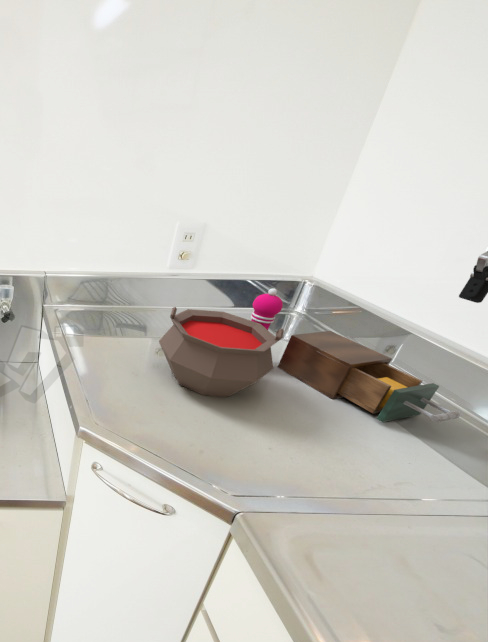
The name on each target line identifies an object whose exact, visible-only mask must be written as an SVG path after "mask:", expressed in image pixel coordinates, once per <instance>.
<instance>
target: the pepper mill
mask: <svg viewBox="0 0 488 642" xmlns="http://www.w3.org/2000/svg"><path fill="white" fill-rule="evenodd" d="M277 294H278V290H277V289H276V288H274V287H273V288H269V290H268V291H267V293H262V294H259V295H258V296H256V298H255V299H254V300H253V302H252V308H253V311H251V315H250V321H253V322H256V323H259V324H261V325H262V326H264V327H265V328H266V329H267V330H268V331H269V328H270V326H271V325H272V324H273V323H274V322H275V319H276V315H278V314H279V313H281V312H282V309H283V306H284V303H283V300H282V299H281V297H280V296H278V295H277Z"/></svg>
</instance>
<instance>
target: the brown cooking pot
mask: <svg viewBox="0 0 488 642" xmlns="http://www.w3.org/2000/svg"><path fill="white" fill-rule="evenodd" d="M177 310H178V308H177V307H176V306H174V307H172V309H171V312H170V315H169V317H170V320H171V322H172V325H171V327H170V328H169V329H168V330H167V331H166V332H165V333H164V335H163V336H162V337H160V339H159V340H158V343H159V346H160V348H161V350H162V352H163V354H164V358H165V359H166V361H167V363H168V366H169V368H170V371H171V372H172V374H173V376H174V378H175V379H176V381H177V383H178V384H179V386H181V387H184V388H186V389H189V391H190V390H191V391H192V392H194V393H197V394H200V396H201V395H202V396H209V397H221V398H228V397H230V396H232V395H234V394H236V393H238V392H240V391H242V390H244V389H246V388H247V387H249V386H251V385H254V384H256V383H257V382H258V381H260V380H261V379H262V378H263V377H265V376H266V375H267V374H268V373H269V372H271V371H272V370H273V369H274V362H273V353H272V346H275V344H277V343H278V342H279V341H281V340H282V339H283V338H284V333H285V330H284V328H279V329H278V330H277V331H276V333H275V335H274V333H272V332H270V330H269V329H268V330H267V329H266V328H265V327H264V326H262V325H261V324H259V323H256V322H253V321H251V319H247V318H244V317H241V316H238V315H236V314H233V313H228V312H225V311H219V310H218V311H217V310H205V309H191V308H187V309H185V310H183V311H180V312H178V313H177Z"/></svg>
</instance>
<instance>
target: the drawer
mask: <svg viewBox="0 0 488 642" xmlns="http://www.w3.org/2000/svg"><path fill="white" fill-rule="evenodd" d="M384 377H388V378H390V379H392V380H394V381H396V382H398V383H400V384H402V385H404V386H406V387H407V388H401V389H396V390H394V391H393V393H392V394H391V396H390V398H389V399H388V401H387V402H386V404H385V406H384V407H383V408H382V407H380V404H381V403H382V401H383V399H384V398H385V396H386V394H387V393H388V391H389V390H390V388H391V385H389V384H387V383H385V382H383V381H381V380H379V379H378V378H384ZM422 383H423V380H422V379H420V378H418V377H416V376H413V375H411V374H409V373H407V372H405V371H403V370H401V369H398V368H396V367H394V366H391V365H390V364H389V365H388V364H385V363H378V364H371V365H364V366H357V367H352V368H351V370H350V372H349V374H348V375H347V377H346V379H345V381H344V383H343V385H342V386H341V388H340V390H339V392H338V394H340V395H341V396H343V398H345V399H347V400H348V401H350V402H351V403H353V404H356V405H357V406H359V407H361V408H362V409H364V410H366V411H367V412H369V413H371V414H377V413H379V414H378V415H377V417H376V420H377V421H379V422H381V423H385V422H389V421H394V420H400V419H406V418H411V417H415V416H420V415H421V414H422V415H425V416H426V417H428V418H430V421H431V422H433V423H441V422H445V421H451V420H454V419H459V418H460V417H461V413H459V411H456V410H452V411H451V410H449V409H448V408H446V407H443V406H441V405H439V404H437V403H435V402H433V401H431V399H432V398H433V396H434V395H435V394H436V392H437V390H438V389H439V387H440V385H438V384H436V383H435V382H431V383H425V384H422ZM427 405H428V406H430V407H432V408H435V409H436V410H438V411H440V412H442V413H438V414H433V413H431V412H429V411H427V410H425V408H426V407H427Z"/></svg>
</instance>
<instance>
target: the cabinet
mask: <svg viewBox="0 0 488 642" xmlns="http://www.w3.org/2000/svg"><path fill="white" fill-rule="evenodd" d="M392 360H393V358H392V357H389V356H388V355H385V354H383V353H381V352H378V351H376V350H374V349H372V348H369V347H367V346H366V345H363V344H360V343H358V342H356V341H354V340H352V339H350V338H348V337H345V336H343V335H340V334H338V333H336V332H334V331H332V330H324V331H316V332H314V331H313V332H306V333H297V334H291V335H290V338H289V340H288V342H287V344H286V346H285V349H284V351H283V353H282V356H281V358H280V360H279V362H278V364H277V368H278V369H280V370H282V371H284V372H285V373H287V374H289V375H290V376H292V377H293V378H295V379H296V380H299V381H300V382H302V383H304V384H305V385H307V386H309V387H311V388H312V389H314V390H315V391H317V392H319V393H321V394H323V395H324V396H325V397H328V398H329V399H331V400H336V399H343V398H344V397H343V396H341V395H340V394H338V392H339V390H340V388H341V386H342V385H343V383H344V381H345V379H346V377H347V375H348V374H349V372H350V370H351V368H352V367H357V366H364V365H371V364H378V363H385V364H388V365H390V363H391V362H392Z"/></svg>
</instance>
